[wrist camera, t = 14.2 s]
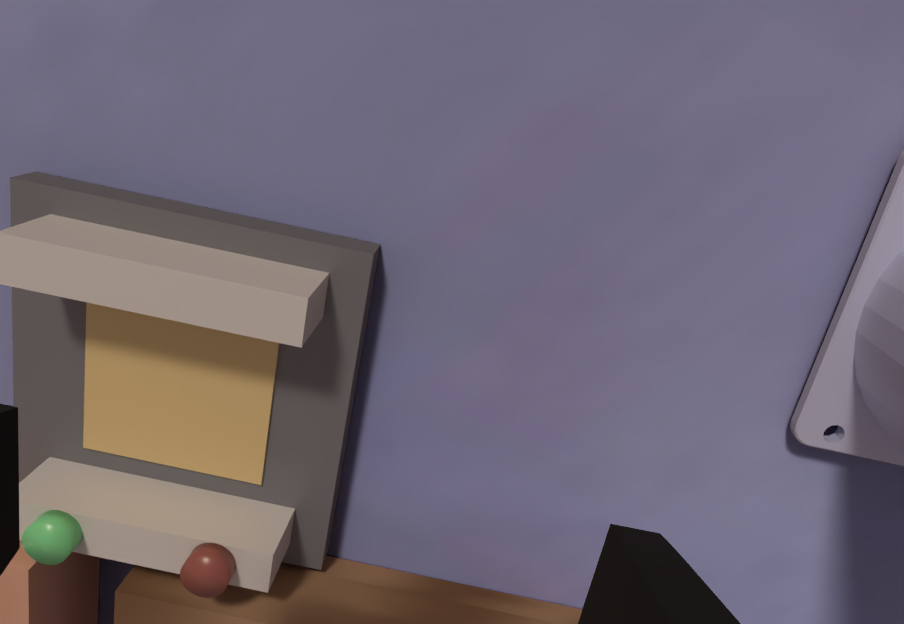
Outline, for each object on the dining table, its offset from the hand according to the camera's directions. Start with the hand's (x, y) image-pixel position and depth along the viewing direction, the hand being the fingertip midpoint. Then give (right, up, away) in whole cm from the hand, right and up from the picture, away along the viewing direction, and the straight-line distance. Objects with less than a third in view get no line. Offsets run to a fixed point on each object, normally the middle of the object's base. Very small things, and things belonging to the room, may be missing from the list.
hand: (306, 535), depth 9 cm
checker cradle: (-5, +1, +11) cm, 12 cm away
